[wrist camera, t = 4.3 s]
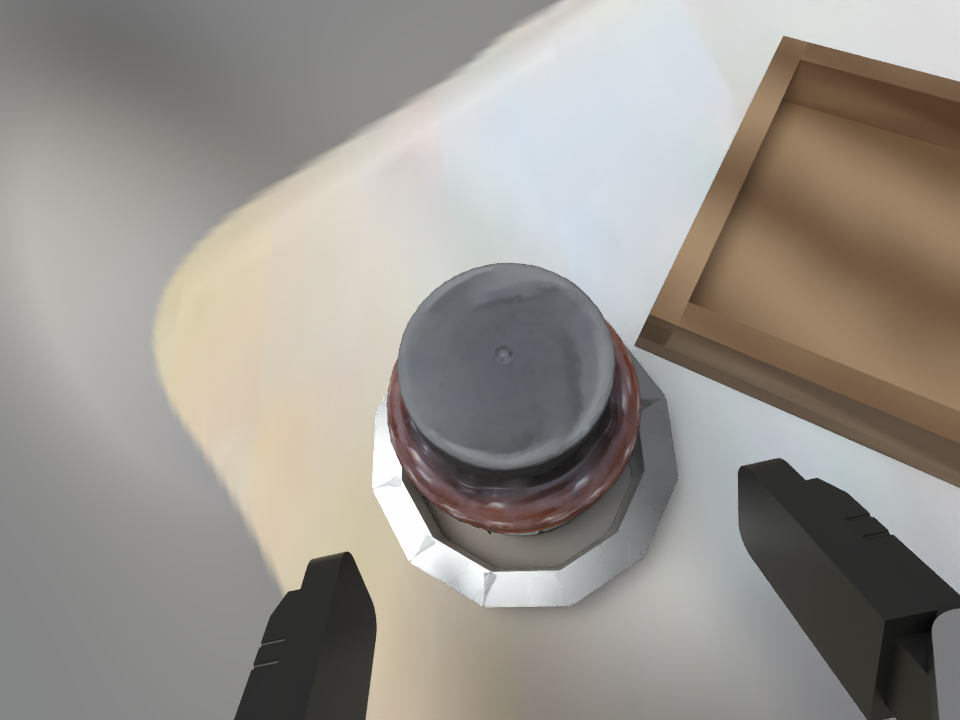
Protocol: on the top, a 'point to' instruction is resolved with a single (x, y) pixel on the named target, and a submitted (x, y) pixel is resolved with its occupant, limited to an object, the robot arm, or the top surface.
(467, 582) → the holder ring
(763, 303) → the tray
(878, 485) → the top surface
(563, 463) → the supplement bottle
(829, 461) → the top surface
